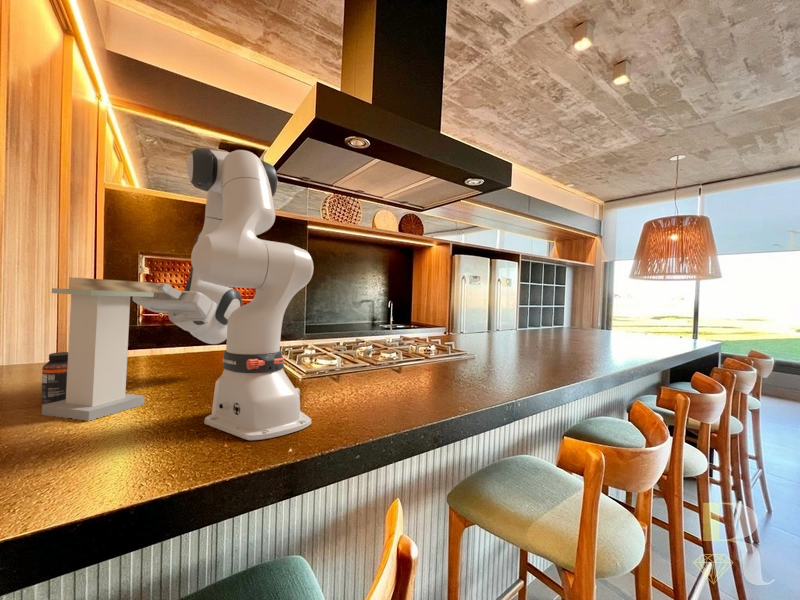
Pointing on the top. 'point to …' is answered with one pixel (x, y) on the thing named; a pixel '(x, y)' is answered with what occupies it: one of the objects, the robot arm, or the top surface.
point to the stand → (96, 355)
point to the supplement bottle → (54, 378)
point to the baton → (113, 285)
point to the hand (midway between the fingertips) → (150, 285)
